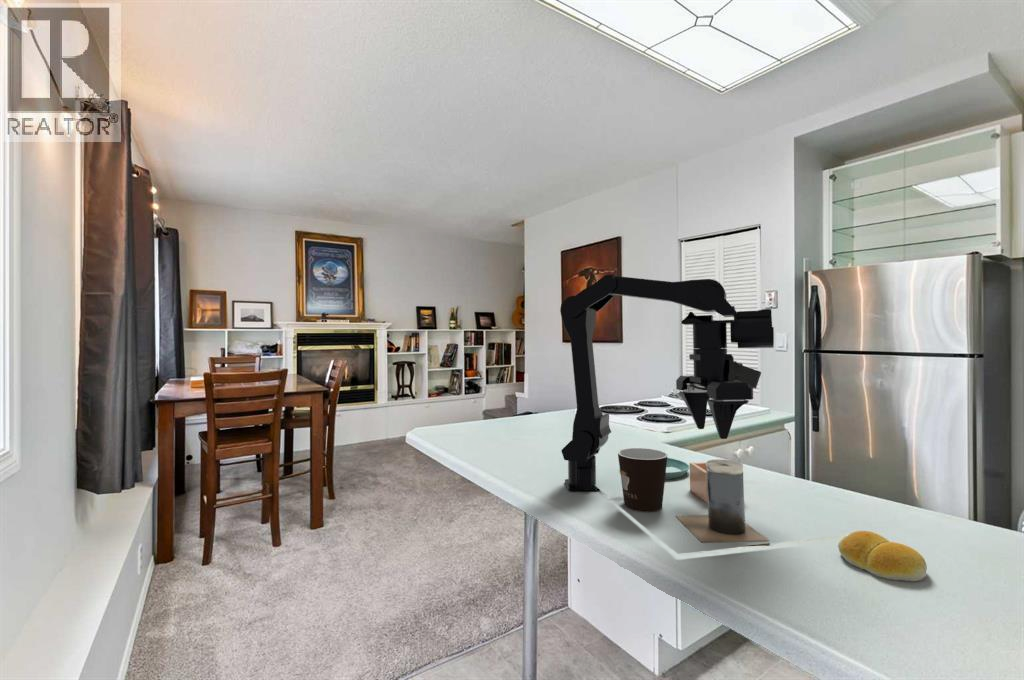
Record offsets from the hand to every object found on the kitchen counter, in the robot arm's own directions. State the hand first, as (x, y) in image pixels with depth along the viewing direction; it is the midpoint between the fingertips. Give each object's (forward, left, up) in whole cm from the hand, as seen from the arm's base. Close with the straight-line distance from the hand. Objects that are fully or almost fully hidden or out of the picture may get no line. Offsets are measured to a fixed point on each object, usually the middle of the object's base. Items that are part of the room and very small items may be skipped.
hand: (711, 433), depth 84 cm
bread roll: (+23, +12, -14) cm, 29 cm away
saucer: (-20, -4, -14) cm, 25 cm away
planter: (-3, +2, -13) cm, 14 cm away
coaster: (+12, -5, -13) cm, 18 cm away
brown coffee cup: (0, -13, -13) cm, 19 cm away
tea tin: (+12, -4, -12) cm, 18 cm away
